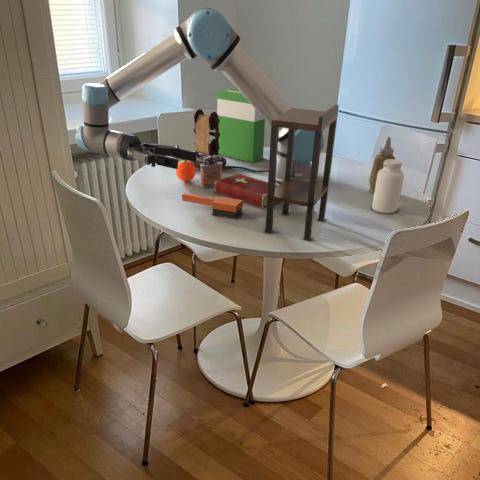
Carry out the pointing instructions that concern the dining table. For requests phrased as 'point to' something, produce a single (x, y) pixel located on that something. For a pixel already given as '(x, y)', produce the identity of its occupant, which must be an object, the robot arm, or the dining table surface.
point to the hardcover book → (244, 189)
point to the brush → (217, 204)
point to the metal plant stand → (291, 188)
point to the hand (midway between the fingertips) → (187, 160)
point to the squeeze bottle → (380, 162)
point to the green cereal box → (239, 127)
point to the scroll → (206, 137)
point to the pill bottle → (388, 187)
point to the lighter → (210, 171)
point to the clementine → (185, 171)
